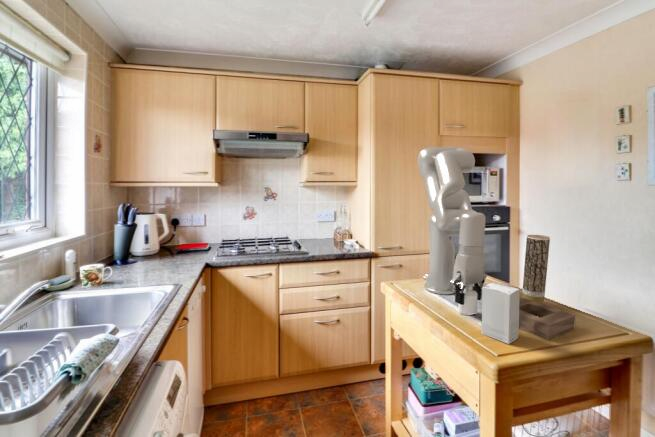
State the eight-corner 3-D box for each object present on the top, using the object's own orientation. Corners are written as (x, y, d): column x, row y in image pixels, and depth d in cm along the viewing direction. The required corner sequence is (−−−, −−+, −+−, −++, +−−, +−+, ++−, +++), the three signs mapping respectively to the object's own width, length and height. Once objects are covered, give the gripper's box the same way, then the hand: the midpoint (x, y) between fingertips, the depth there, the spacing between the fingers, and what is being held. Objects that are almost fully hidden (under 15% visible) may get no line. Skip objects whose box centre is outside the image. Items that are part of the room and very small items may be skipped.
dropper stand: (495, 318, 106) (496, 305, 105) (521, 309, 112) (522, 297, 112) (547, 340, 92) (549, 325, 91) (573, 329, 98) (575, 315, 98)
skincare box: (518, 339, 93) (522, 289, 91) (508, 345, 89) (512, 293, 87) (489, 327, 100) (492, 281, 98) (479, 333, 96) (482, 285, 94)
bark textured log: (547, 309, 113) (553, 238, 110) (525, 307, 114) (531, 238, 111) (538, 301, 120) (544, 235, 116) (518, 300, 121) (523, 234, 118)
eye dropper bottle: (474, 318, 106) (476, 282, 105) (456, 313, 110) (458, 279, 108) (477, 313, 110) (479, 279, 108) (460, 309, 113) (462, 276, 112)
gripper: (478, 244, 114) (475, 293, 116) (442, 250, 106) (440, 302, 108) (498, 249, 107) (494, 300, 110) (462, 255, 99) (459, 310, 102)
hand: (467, 300), depth 109 cm, fingers open, 7 cm apart
